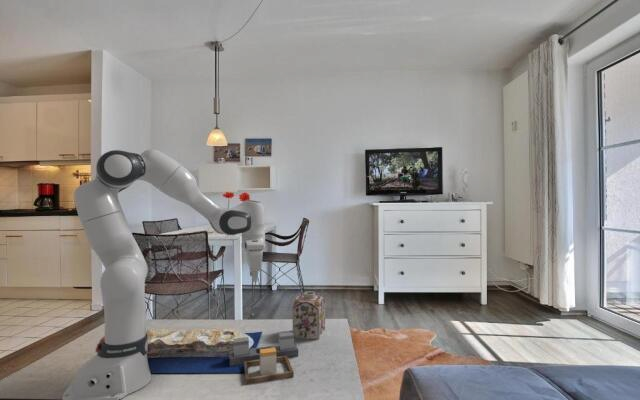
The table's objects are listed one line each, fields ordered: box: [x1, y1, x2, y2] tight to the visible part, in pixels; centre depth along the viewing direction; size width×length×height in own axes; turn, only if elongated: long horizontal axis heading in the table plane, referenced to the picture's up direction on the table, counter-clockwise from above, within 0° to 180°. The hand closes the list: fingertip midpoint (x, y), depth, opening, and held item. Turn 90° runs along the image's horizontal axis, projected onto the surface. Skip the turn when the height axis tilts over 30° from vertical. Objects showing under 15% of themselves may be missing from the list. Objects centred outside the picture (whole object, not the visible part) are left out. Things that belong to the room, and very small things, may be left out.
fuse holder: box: [229, 342, 299, 367], centre depth 114 cm, size 24×6×4 cm, turn 107°
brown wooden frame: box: [243, 356, 295, 385], centre depth 105 cm, size 15×12×2 cm
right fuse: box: [278, 331, 295, 350], centre depth 116 cm, size 5×3×7 cm, turn 107°
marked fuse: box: [259, 347, 277, 376], centre depth 105 cm, size 5×3×7 cm, turn 107°
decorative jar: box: [292, 291, 326, 340], centre depth 136 cm, size 12×12×18 cm
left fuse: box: [233, 337, 250, 357], centre depth 112 cm, size 5×3×7 cm, turn 107°
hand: (253, 278), depth 123 cm, fingers open, 8 cm apart
